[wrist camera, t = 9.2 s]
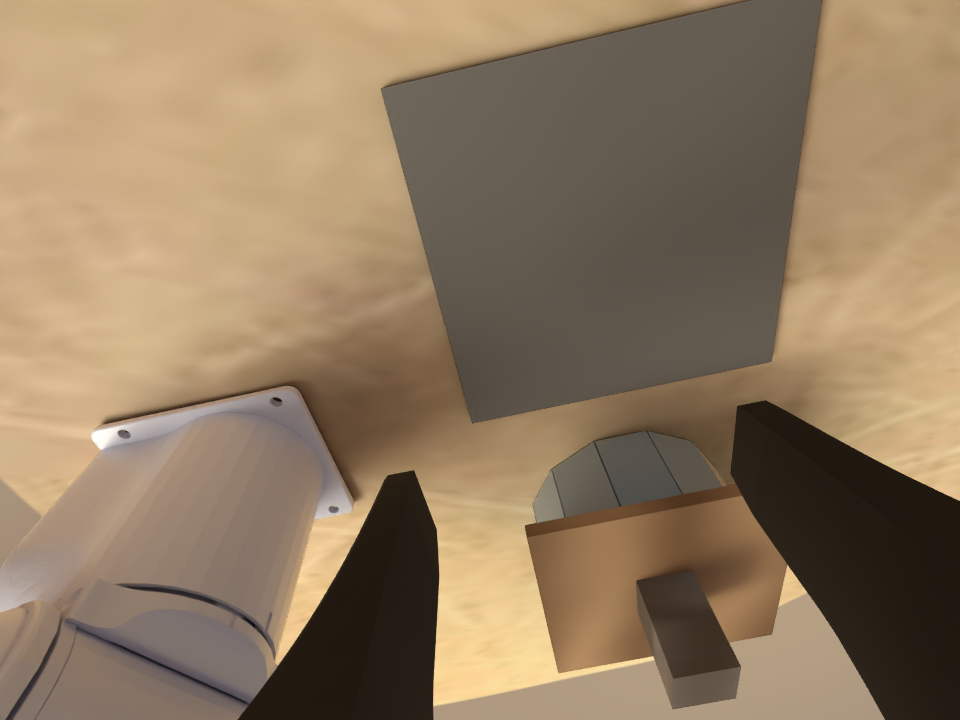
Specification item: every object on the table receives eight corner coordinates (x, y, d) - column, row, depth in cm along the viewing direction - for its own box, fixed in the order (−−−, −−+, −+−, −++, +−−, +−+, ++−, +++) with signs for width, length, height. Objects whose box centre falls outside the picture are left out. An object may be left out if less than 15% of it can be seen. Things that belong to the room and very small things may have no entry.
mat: (471, 418, 23) (471, 423, 23) (381, 88, 16) (380, 88, 15) (766, 357, 22) (771, 361, 22) (815, -16, 15) (824, -18, 15)
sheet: (555, 661, 26) (577, 768, 22) (524, 525, 20) (545, 638, 16) (764, 622, 25) (825, 726, 21) (795, 472, 19) (885, 575, 15)
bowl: (547, 573, 30) (565, 658, 25) (522, 455, 25) (539, 537, 20) (709, 542, 29) (755, 624, 25) (719, 415, 24) (779, 491, 20)
